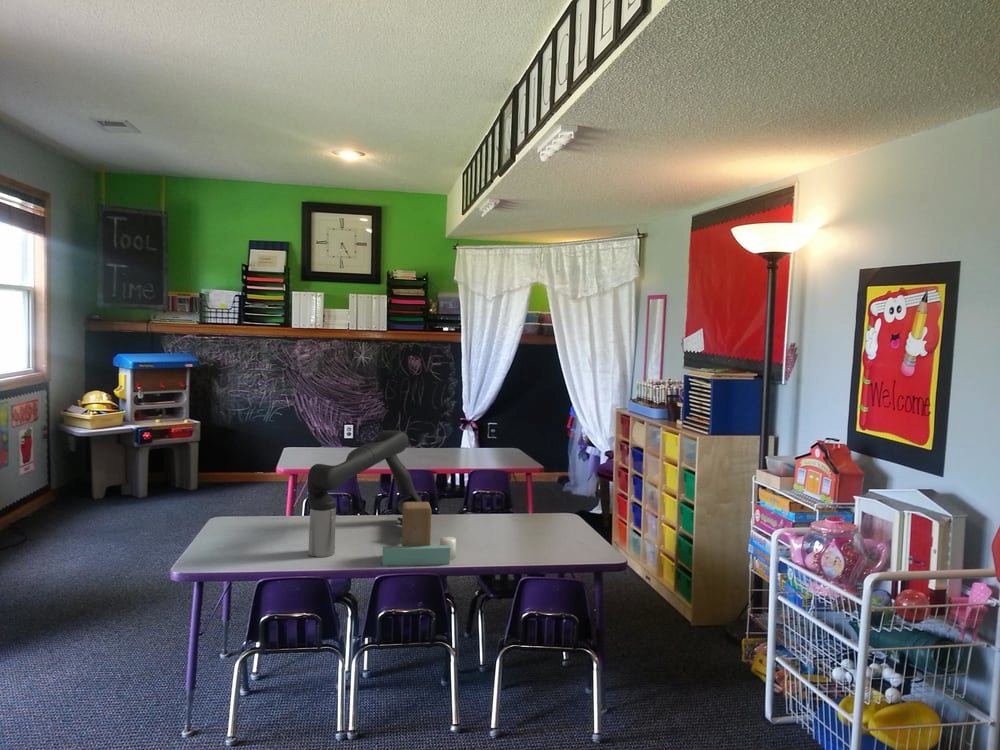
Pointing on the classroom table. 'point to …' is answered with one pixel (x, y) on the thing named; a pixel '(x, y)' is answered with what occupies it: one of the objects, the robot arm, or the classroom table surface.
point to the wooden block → (416, 524)
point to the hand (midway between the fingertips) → (414, 527)
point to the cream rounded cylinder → (451, 542)
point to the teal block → (416, 555)
